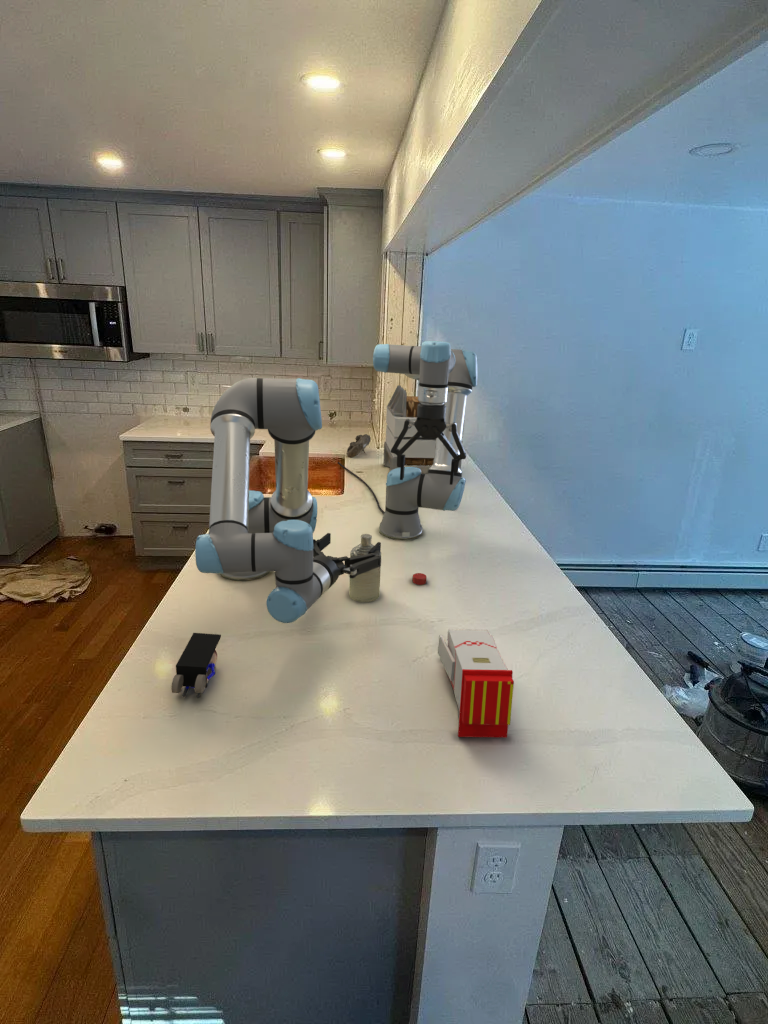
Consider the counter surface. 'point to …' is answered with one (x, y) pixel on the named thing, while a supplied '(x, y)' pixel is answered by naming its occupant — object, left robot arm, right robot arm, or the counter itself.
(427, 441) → the white slatted box
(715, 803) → the counter surface
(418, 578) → the cap
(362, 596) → the bottle
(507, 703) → the toy
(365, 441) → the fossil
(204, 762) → the counter surface
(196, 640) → the black toy vehicle
